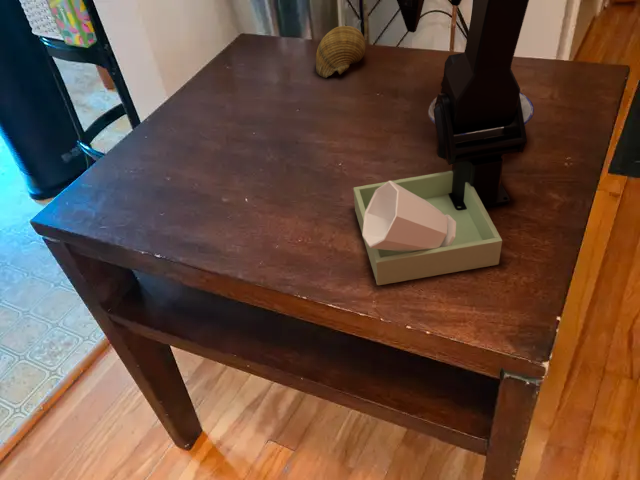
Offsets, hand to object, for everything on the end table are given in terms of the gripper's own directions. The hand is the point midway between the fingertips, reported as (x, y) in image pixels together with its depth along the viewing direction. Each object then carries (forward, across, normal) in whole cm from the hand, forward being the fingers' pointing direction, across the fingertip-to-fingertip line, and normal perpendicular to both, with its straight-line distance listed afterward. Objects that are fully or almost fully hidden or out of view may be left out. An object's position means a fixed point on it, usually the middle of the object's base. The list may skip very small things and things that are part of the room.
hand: (433, 18), depth 76 cm
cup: (+11, +23, +18) cm, 31 cm away
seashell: (+13, -3, -20) cm, 25 cm away
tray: (+13, +22, +16) cm, 30 cm away
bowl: (+13, +2, +10) cm, 16 cm away
